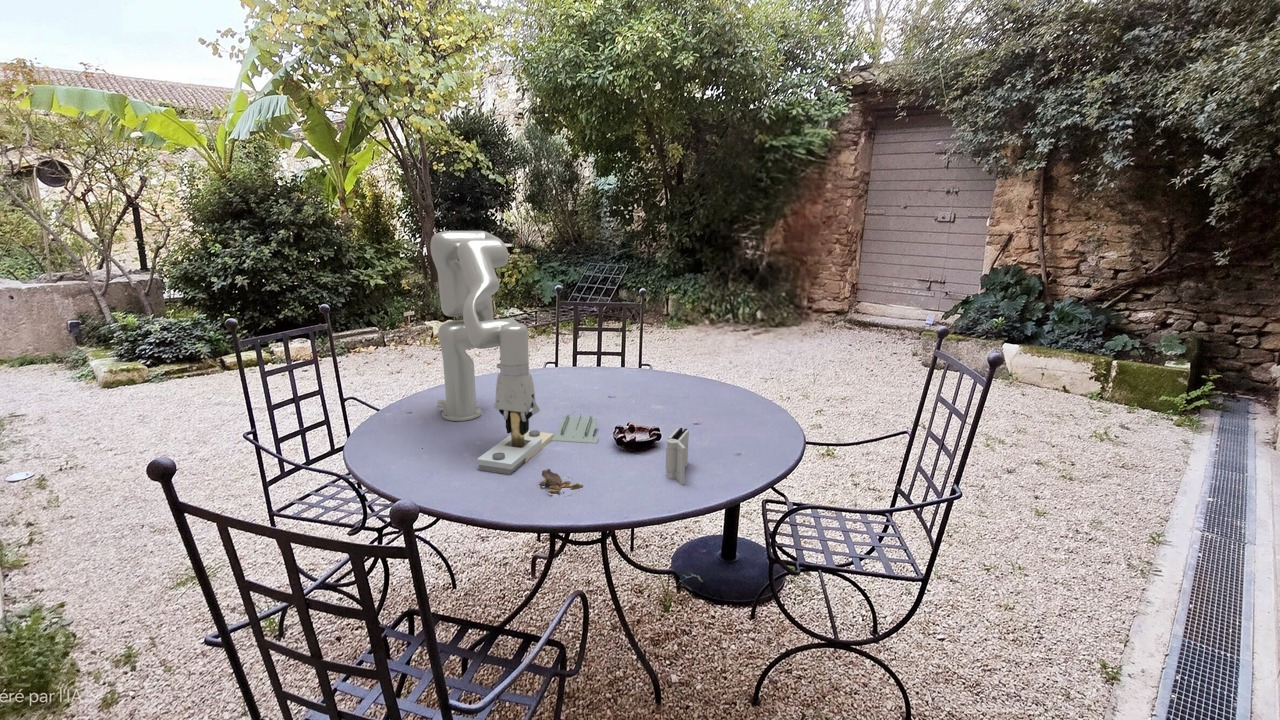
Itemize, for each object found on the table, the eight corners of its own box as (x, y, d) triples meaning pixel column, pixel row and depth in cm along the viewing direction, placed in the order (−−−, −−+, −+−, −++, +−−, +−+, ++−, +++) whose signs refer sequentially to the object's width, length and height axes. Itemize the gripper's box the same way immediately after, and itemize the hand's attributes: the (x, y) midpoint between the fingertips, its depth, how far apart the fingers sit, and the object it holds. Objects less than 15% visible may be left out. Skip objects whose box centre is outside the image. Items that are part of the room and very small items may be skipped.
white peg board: (511, 474, 152) (511, 461, 151) (477, 469, 155) (476, 456, 154) (553, 438, 176) (553, 426, 175) (523, 434, 179) (522, 422, 178)
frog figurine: (523, 490, 145) (522, 476, 144) (558, 474, 154) (558, 460, 153) (555, 505, 138) (554, 490, 137) (590, 487, 147) (590, 473, 146)
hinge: (684, 485, 148) (685, 448, 146) (663, 483, 149) (664, 446, 146) (688, 462, 162) (689, 428, 159) (668, 460, 162) (669, 426, 160)
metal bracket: (557, 409, 185) (604, 412, 183) (558, 424, 188) (605, 427, 186) (545, 438, 173) (595, 441, 171) (547, 453, 176) (596, 456, 174)
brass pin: (509, 447, 163) (507, 407, 160) (515, 443, 167) (513, 403, 164) (520, 449, 162) (519, 408, 160) (526, 444, 166) (525, 404, 163)
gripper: (480, 370, 158) (484, 434, 162) (536, 375, 153) (538, 441, 158) (494, 363, 165) (497, 424, 169) (548, 368, 160) (550, 431, 165)
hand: (517, 432), depth 164 cm, fingers closed on brass pin, 3 cm apart
